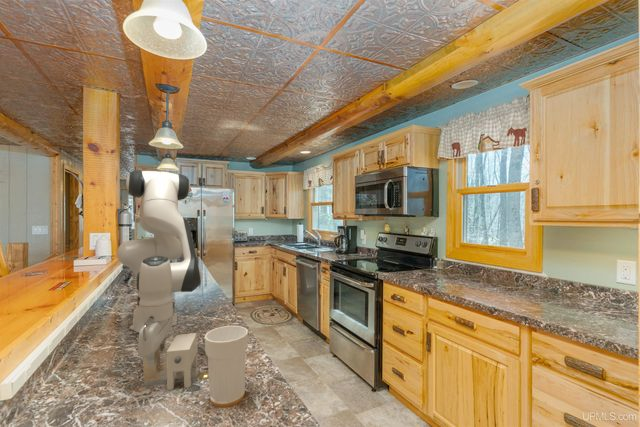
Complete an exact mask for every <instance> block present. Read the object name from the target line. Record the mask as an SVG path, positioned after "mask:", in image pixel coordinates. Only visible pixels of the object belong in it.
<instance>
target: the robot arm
mask: <svg viewBox="0 0 640 427" xmlns="http://www.w3.org/2000/svg"><path fill="white" fill-rule="evenodd" d="M125 185H126V190H127V191H128V194H129V195H130V196H132V197H134V198H142V200H141V204H140V214H139V216H140V218H139V227H141V229H142V230H144V231H145V232H147V233H150V234H152V235H153V237H152V238H139V239H138V238H137V239H131V240H127V241H123V242H122V243H120V245H119V246H118V248H117V252H116V255H117V258H118V261H119V262H120V263H121V264H122V265H124V266H126V267H127V268H129V269H130V270H131V272H133V274H134V276H135V277H136V290H137V292H138V293H137V294H138V296H137V297H136V298H137V299H136V303H137V304H136V305H137V306H136V307H135V308H134V309H133V321H132V324H131V325H130V326H129V330H132V331H134V332H136V333H139V334H138V340H137V342H138V343H137V344H138V347H137V355H138V356H139V358H143V357H146V359H147V366H148V367H150V366H154V365H155V363H156V358H155V355H154V354H155V351H156V350H157V349H158V347H159V346H160V352H163V351H164V350H165V349H166V341H167V338H168V337H167V336H168V334H169V332H170V331H171V329H172V327H174V326H177V325H178V312H177V313H176V312H174V309H175V305H176V303H175V301H173V295H172V293H179V292H181V293H190V292H193V291H195V290H197V289H198V287H199V286H200V285H201V284H202V283H201V282H202V271H201V270H202V269H201V267H200V265H199V263H198V262H199V261H198V258H197V252H196V248H195V245H194V239H193V235H192V232H191V228H190V224H189V221H188V220H187V218H185V217H183V216H182V214H181V213H180V210H179V201H181V200H185V199H186V198H188V195H189V193H190V191H191V184H190V179H189V178H188V176H186V175H184V174H181V173H178V174H177V173H173V172H170V171H169V172H167V171H162V170H161V171H156V170H154V171H153V170H142V169H135V170H132V171H131V172H129V174H128V176H127V177H126V182H125ZM182 255H183V261H177V262H171V261H174V260H178V259H180V258H181V257H182Z"/></svg>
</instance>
